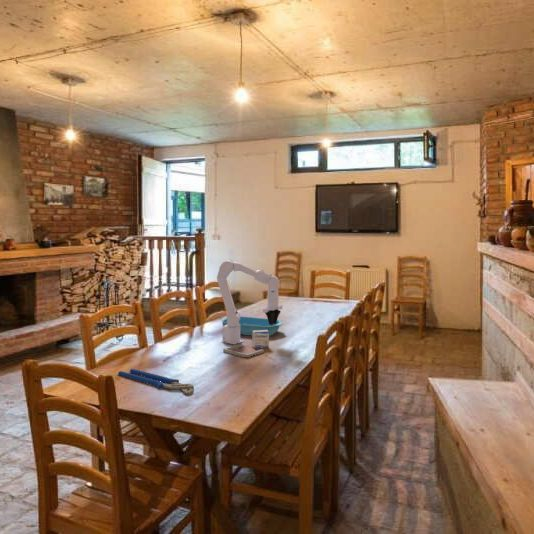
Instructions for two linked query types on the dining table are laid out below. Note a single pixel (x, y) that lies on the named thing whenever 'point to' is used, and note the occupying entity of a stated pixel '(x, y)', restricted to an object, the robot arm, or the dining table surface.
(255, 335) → the medicine box
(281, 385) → the dining table surface
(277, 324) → the casserole dish
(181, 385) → the pliers
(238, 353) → the frame
